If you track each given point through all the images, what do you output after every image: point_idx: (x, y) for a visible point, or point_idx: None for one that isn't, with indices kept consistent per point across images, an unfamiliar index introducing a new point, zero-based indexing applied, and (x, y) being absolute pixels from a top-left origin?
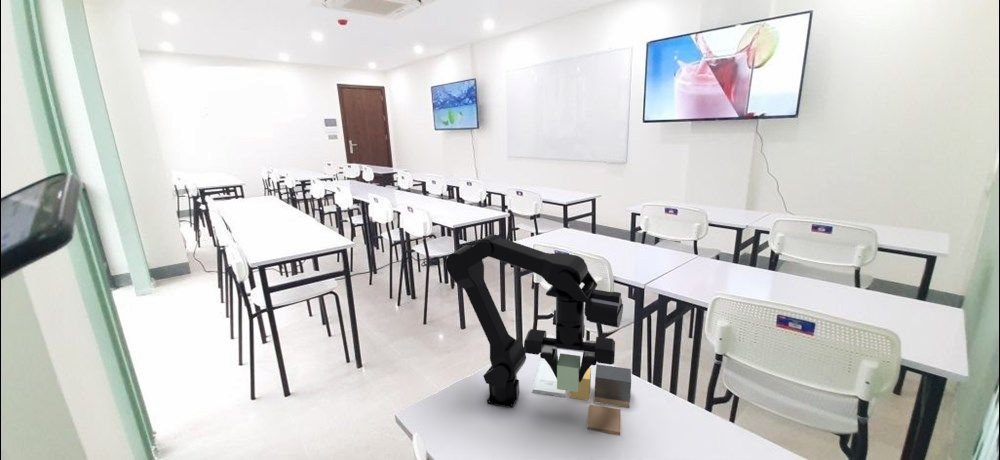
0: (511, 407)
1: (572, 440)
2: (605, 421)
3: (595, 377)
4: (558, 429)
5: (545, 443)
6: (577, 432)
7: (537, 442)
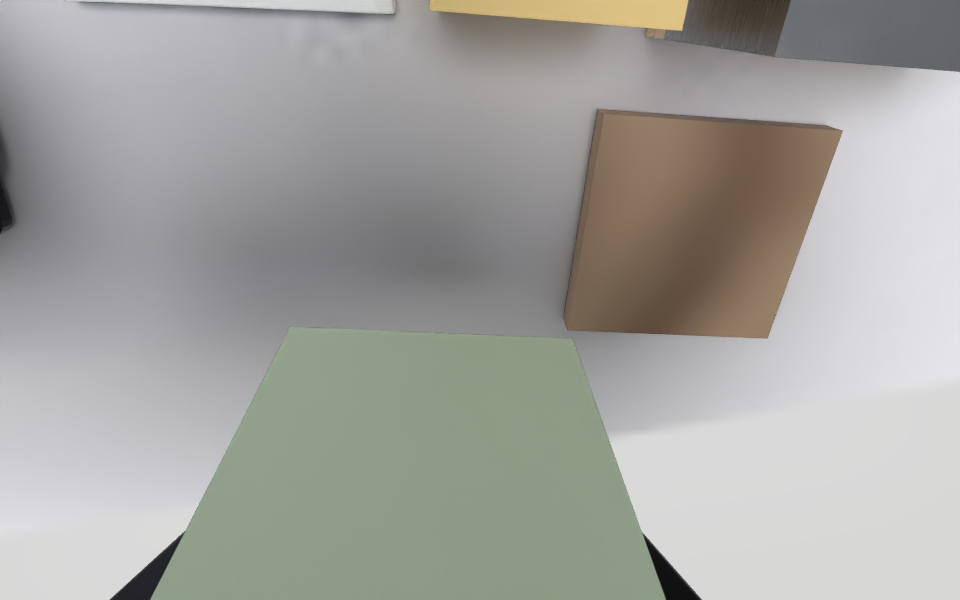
0: (2, 232)
1: None
2: (695, 270)
3: (774, 56)
4: None
5: None
6: None
7: None
